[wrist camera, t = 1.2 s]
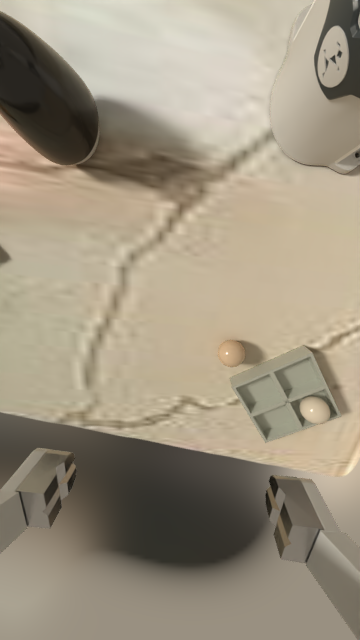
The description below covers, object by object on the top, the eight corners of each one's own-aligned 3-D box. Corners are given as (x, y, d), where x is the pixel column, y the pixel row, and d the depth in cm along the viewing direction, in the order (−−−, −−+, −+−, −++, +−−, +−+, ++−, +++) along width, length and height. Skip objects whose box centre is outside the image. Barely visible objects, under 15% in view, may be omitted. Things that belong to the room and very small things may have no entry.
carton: (303, 345, 38) (312, 352, 35) (331, 404, 41) (341, 416, 38) (229, 377, 41) (231, 387, 38) (261, 430, 45) (265, 442, 42)
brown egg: (235, 331, 38) (240, 342, 33) (246, 352, 39) (253, 365, 35) (212, 343, 39) (214, 354, 35) (223, 362, 40) (227, 376, 36)
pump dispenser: (63, 69, 28) (-76, -121, 14) (123, 128, 30) (53, 11, 15) (30, 139, 31) (-113, 43, 17) (86, 190, 33) (-1, 140, 18)
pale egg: (315, 386, 39) (331, 404, 35) (324, 405, 40) (340, 424, 36) (291, 396, 40) (303, 414, 36) (300, 414, 41) (313, 433, 37)
